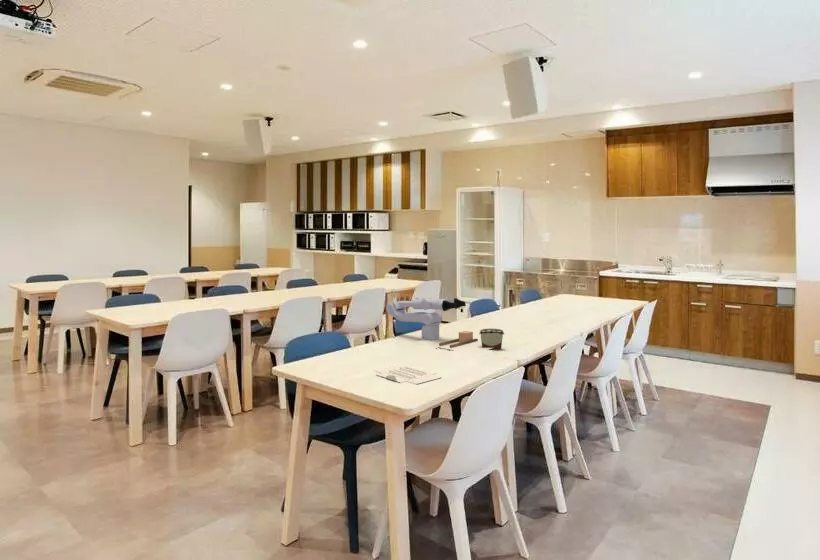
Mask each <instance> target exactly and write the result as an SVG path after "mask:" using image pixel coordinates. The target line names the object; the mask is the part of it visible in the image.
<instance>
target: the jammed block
mask: <svg viewBox="0 0 820 560" xmlns="http://www.w3.org/2000/svg"><path fill="white" fill-rule="evenodd" d="M458 338H459V342H458V343H460V342H464V341H468V340H472V339H474V332H473V331H470V330H463V331H459V332H458Z"/></svg>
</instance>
